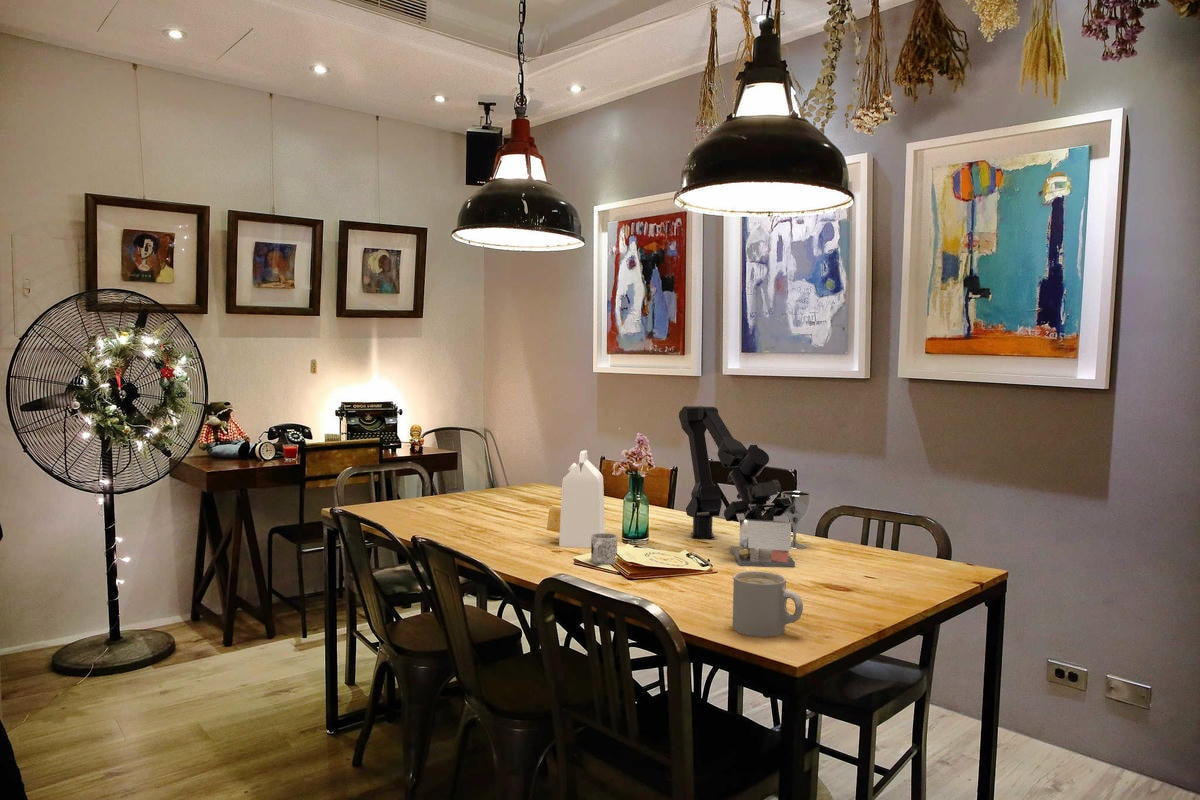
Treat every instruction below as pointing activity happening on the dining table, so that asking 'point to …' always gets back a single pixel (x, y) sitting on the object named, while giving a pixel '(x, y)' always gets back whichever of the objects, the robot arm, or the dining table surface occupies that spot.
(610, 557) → the mug
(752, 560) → the base
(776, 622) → the coffee mug
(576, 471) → the milk
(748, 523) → the swing bar
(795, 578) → the dining table surface
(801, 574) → the dining table surface
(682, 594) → the dining table surface
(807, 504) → the wine glass
